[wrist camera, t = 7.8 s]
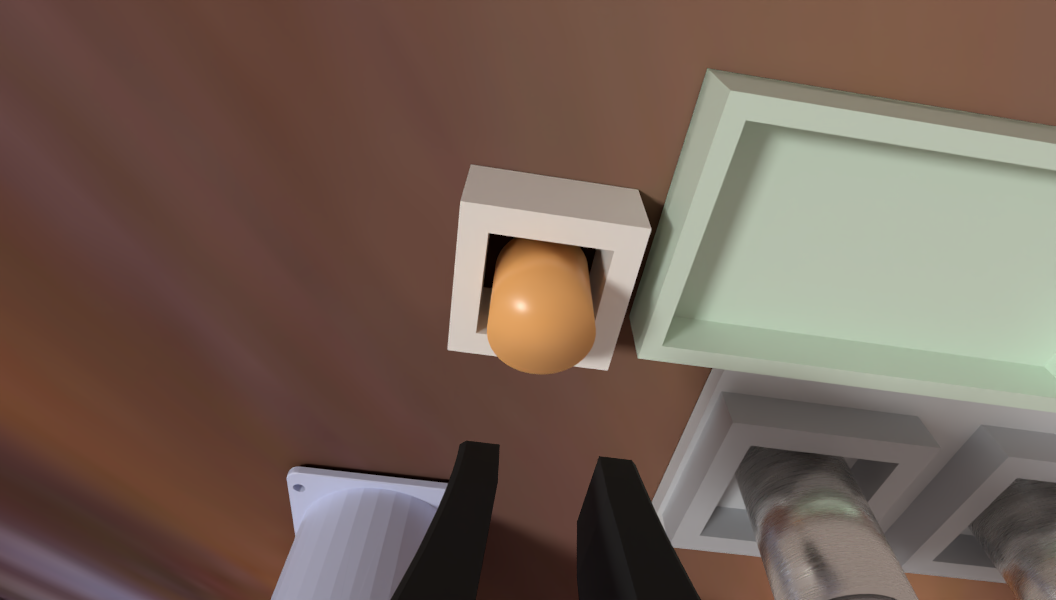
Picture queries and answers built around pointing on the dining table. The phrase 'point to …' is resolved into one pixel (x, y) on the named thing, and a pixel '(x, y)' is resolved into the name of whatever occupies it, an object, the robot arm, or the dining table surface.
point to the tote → (857, 245)
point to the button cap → (541, 306)
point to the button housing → (553, 217)
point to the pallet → (857, 463)
